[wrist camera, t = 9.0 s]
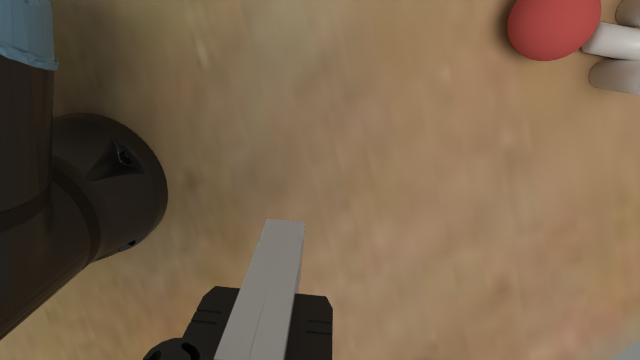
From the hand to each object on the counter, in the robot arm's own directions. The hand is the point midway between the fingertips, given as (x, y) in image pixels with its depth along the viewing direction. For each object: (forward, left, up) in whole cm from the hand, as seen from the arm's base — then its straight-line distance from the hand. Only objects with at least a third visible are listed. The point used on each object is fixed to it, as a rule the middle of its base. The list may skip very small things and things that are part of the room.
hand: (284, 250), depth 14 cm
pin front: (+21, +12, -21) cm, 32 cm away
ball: (+16, +12, -19) cm, 28 cm away
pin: (+23, +9, -22) cm, 34 cm away
